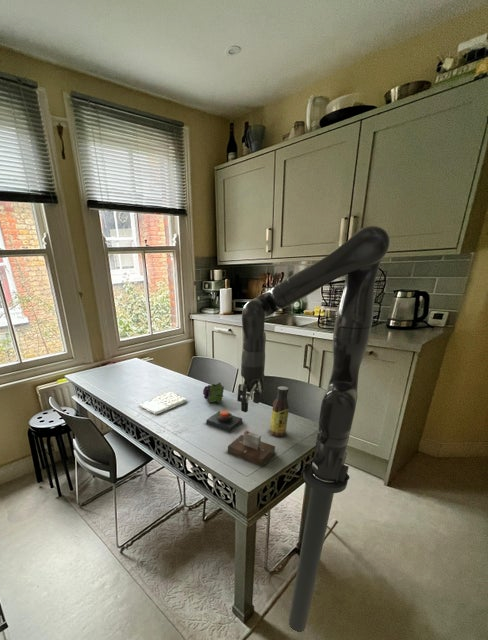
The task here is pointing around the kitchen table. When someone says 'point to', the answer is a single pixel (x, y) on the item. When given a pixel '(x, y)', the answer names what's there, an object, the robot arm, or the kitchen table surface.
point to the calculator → (163, 403)
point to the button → (224, 414)
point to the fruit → (213, 392)
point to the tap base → (251, 451)
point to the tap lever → (251, 440)
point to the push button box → (224, 422)
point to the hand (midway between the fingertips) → (250, 406)
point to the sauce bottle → (279, 412)
